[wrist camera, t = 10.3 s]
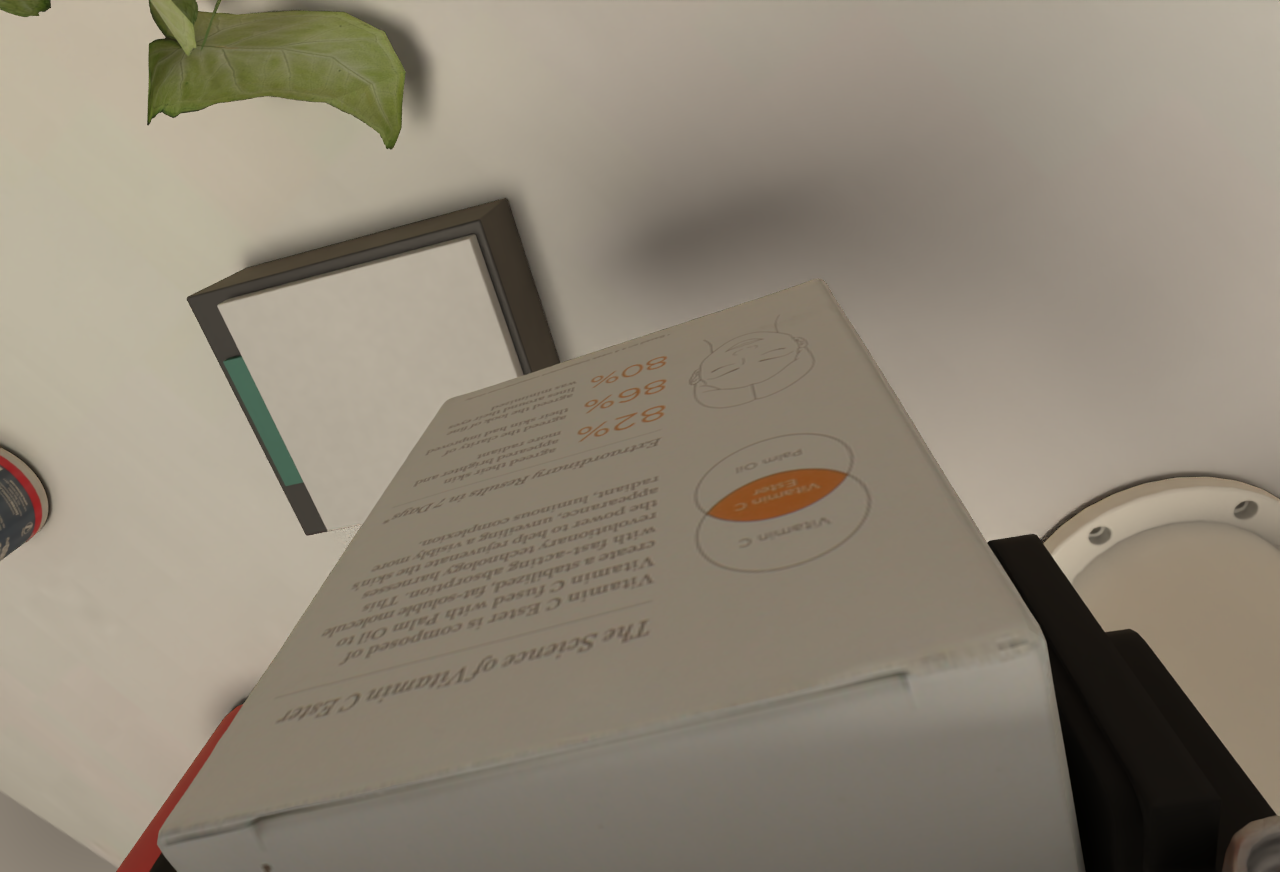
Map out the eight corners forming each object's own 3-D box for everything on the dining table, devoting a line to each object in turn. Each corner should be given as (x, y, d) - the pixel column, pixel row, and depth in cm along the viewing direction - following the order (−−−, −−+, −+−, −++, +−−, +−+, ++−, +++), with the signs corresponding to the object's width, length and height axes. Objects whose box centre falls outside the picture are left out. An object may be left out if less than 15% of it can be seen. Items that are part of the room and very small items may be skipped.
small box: (544, 604, 19) (401, 1172, 9) (440, 391, 17) (116, 853, 7) (892, 514, 17) (1137, 1082, 8) (829, 267, 15) (1064, 645, 6)
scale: (507, 197, 30) (473, 223, 26) (583, 434, 34) (566, 492, 30) (245, 268, 32) (171, 304, 28) (346, 485, 36) (296, 548, 32)
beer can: (199, 722, 43) (33, 949, 32) (287, 672, 41) (141, 895, 30) (287, 799, 45) (158, 1036, 34) (374, 755, 43) (267, 991, 33)
